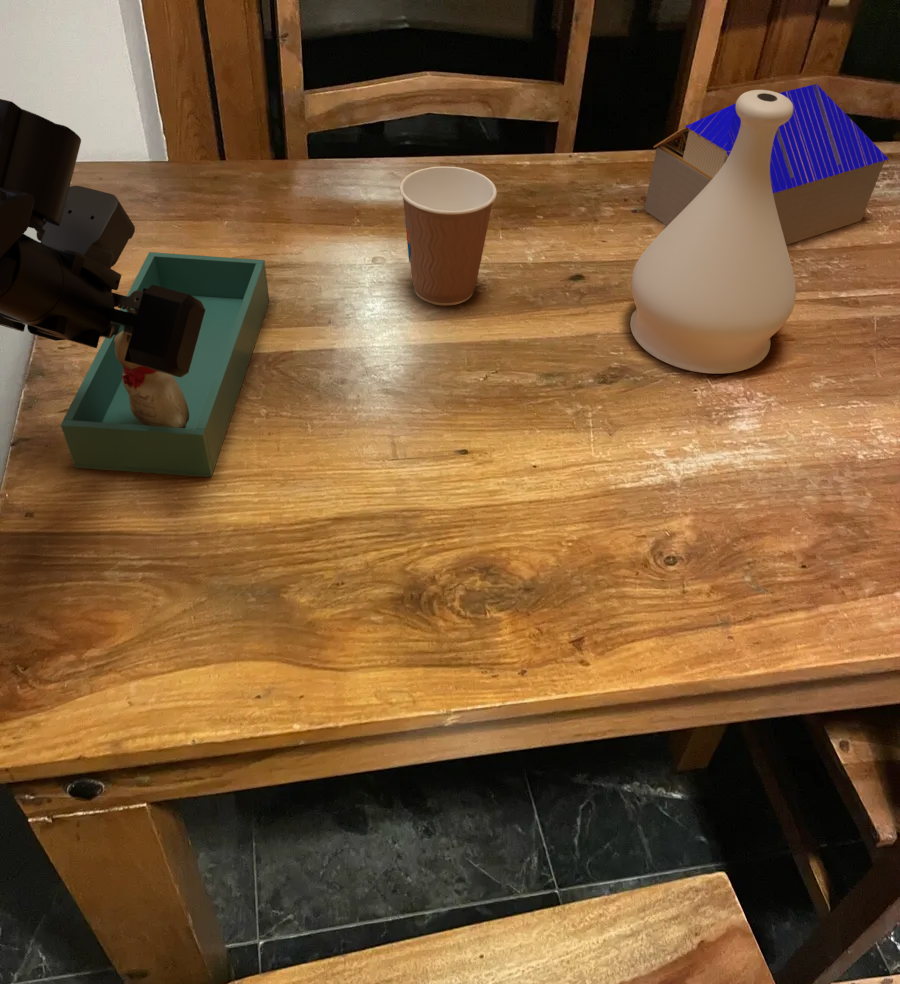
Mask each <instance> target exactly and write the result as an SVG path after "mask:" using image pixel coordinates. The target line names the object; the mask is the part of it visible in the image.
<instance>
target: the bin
mask: <svg viewBox="0 0 900 984" xmlns="http://www.w3.org/2000/svg"><path fill="white" fill-rule="evenodd" d="M151 285H156V286H159V287H163V288H167V289H170V290H174V291H178V292H181V293H185V294H189V295H191V296H193V297H194V298H196V299H198V300H199V301H201V302H202V304H203V306H204V308H205V314H204V317H203V321H202V325H201V328H200V332H199V336H198V340H197V343H196V347H195V351H194V354H193V358H192V362H191V365H190V369H189V373H187V374H186V375H184V376H182V377H181V378H180V377H176V376H173V377H174V378H175V380H176V381H177V383H178V385H179V387H180V389H181V391H182V393H183V395H184V398H185V400H186V402H187V406H188V410H189V421H188V422H187V424H186V428H174V427H160V426H145V425H143V423H141V422H139V420H138V419H137V418H136V417H135V416H134V415H133V413H132V411H131V409H130V401H129V394H128V392H127V390H126V389H125V387H124V385H123V381H122V374H123V371H124V368H123V366H122V364H121V363H120V362H119V361H118V359H117V357H116V353H115V344H114V338H115V337H116V336H117V335H118V334H119V333H120V332H121V331H123V329H124V326H121V325H120V328H119V332H118V334H117V335H113V337H112V338H106V337H104V339H103V341H102V343H101V345H100V347H99V349H98V351H97V353H96V355H95V356H94V358H93V361H92V363H91V364H90V366H89V369H88V370H87V372H86V374H85V376H84V377H83V380H82V382H81V384H80V386H79V387H78V390H77V392H76V394H75V395H74V397H73V400H72V401H71V404H70V406H69V407H68V409H67V411H66V414H65V415H64V417H63V419H62V422H61V424H60V427H61V430H62V434H63V436H64V439H65V442H66V444H67V447H68V451H69V454H70V457H71V459H72V462H73V465H74V468H75V469H87V470H99V471H100V470H102V471H104V470H105V471H114V472H115V471H116V472H128V473H129V472H130V473H143V474H144V473H145V474H160V475H171V476H172V475H174V476H185V477H187V476H188V477H202V478H212V476H213V474H214V470H215V467H216V465H217V461H218V459H219V456H220V452H221V449H222V446H223V443H224V440H225V437H226V434H227V431H228V428H229V425H230V422H231V418H232V416H233V413H234V410H235V406H236V404H237V400H238V397H239V394H240V391H241V388H242V385H243V382H244V379H245V377H246V374H247V370H248V367H249V364H250V362H251V361H250V360H251V357H252V355H253V352H254V348H255V346H256V343H257V339H258V337H259V334H260V331H261V328H262V324H263V321H264V318H265V315H266V312H267V309H268V306H269V303H270V294H269V286H268V285H269V284H268V276H267V269H266V260H265V259H257V258H255V259H254V258H239V257H226V256H211V255H199V254H197V255H196V254H185V253H184V254H182V253H168V252H153V251H149V252H148V254H147V255H146V257H145V259H144V261H143V262H142V265H141V267H140V269H139V270H138V273H137V275H136V277H135V279H134V281H133V282H132V284H131V286H130V288H129V290H128V292H127V294H126V296H130V295H131V294H132V292H134V291H142V292H143V289H144V288H146V289H148V288H149V287H150V286H151ZM131 309H132V310H135V309H133V308H131ZM119 310H121V311H125V312H128V310H126V308H125V310H124V309H122V308H119Z"/></svg>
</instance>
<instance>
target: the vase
mask: <svg viewBox="0 0 900 984" xmlns="http://www.w3.org/2000/svg"><path fill="white" fill-rule="evenodd" d="M779 93H780V92H776V91H773V90H768V89H767V90H766V89H751V90H748V91H745V92H744V93H742V94H741V95H739V97H738V98H737V99H736V101H735V103H736V107H735V108H736V113H737V115H738V116H739V117H740V119H741V125H740V130H739V133H738V136H737V138H736V141H735V143H734V146H733V148H732V150H731V153H730V155H729V156H728V158H727V160H726V162H725V163H724V165H723V166H722V167H721V169H720V170H719V171H718V173H717V174H716V175H715V176H714V178H713V179H712V180H711V181H710V182H709V183H708V184H707V186H706V187H705V188H704V189H703V190H702V191H701V192H700V193H699V194H698V195H697V196H696V197H695V198H694V199H693V200H692V201H691V202H690V203H689V205H688V206H687V207H686V208H685V209H684V210H683V211H682V212H681V213H680V214H679V215H678V216H677V217H676V218H675V219H674V220H673V221H672V222H671V223H670V224H669V225H668V226H667V225H666V226H665V228H664V229H662V231H661V232H660V233H659V234H658V235H657V236H655V238H654V239H653V240H652V241H651V242H650V243H649V245H648V246H647V247H646V248H645V249H644V250H643V252H642V253H641V255H640V256H639V257H638V259H637V261H636V263H635V265H634V267H633V270H632V275H631V281H630V286H631V294H632V298H633V302H634V304H635V308H636V309H634V311H633V312H632V315H631V317H630V323H629V324H630V330H631V331H630V332H631V333H632V336H633V337H634V339H635V341H636V342H637V343H638V345H639V346H640V347H641V348H642V349H643V350H645V352H647V353H649V354H650V355H651V356H652V357H655V358H656V359H658V360H660V361H662V362H664V363H666V364H668V365H671V366H673V367H676V368H678V369H683V370H685V371H689V372H696V373H703V374H712V375H713V374H714V375H715V374H719V375H720V374H732V373H738V372H741V371H744V370H748V369H750V368H753V367H755V366H756V365H758V364H759V363H761V362H763V360H764V359H765V358H766V357H767V355H768V353H769V352H770V349H771V338H772V336H774V335H775V334H776V333H777V332H778V331H779V330H781V329H782V327H783V326H784V325H785V324H786V323H787V322H788V320H789V318H790V316H791V315H792V312H793V310H794V308H795V305H796V297H797V296H796V295H797V289H796V280H795V275H794V270H793V265H792V262H791V258H790V254H789V251H788V246H787V245H786V243H785V239H784V235H783V232H782V228H781V224H780V221H779V217H778V213H777V209H776V205H775V201H774V196H773V191H772V186H771V178H770V159H771V152H772V146H773V141H774V137H775V134H776V131H777V129H778V128H779V126H781V125H783V124H784V123H786V122H787V121H788V120H789V119H790V118H791V116H792V114H793V104H792V102H791V101H790V100H789V99H788V98H787V97H785V96H784V95H782V94H779Z"/></svg>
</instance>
